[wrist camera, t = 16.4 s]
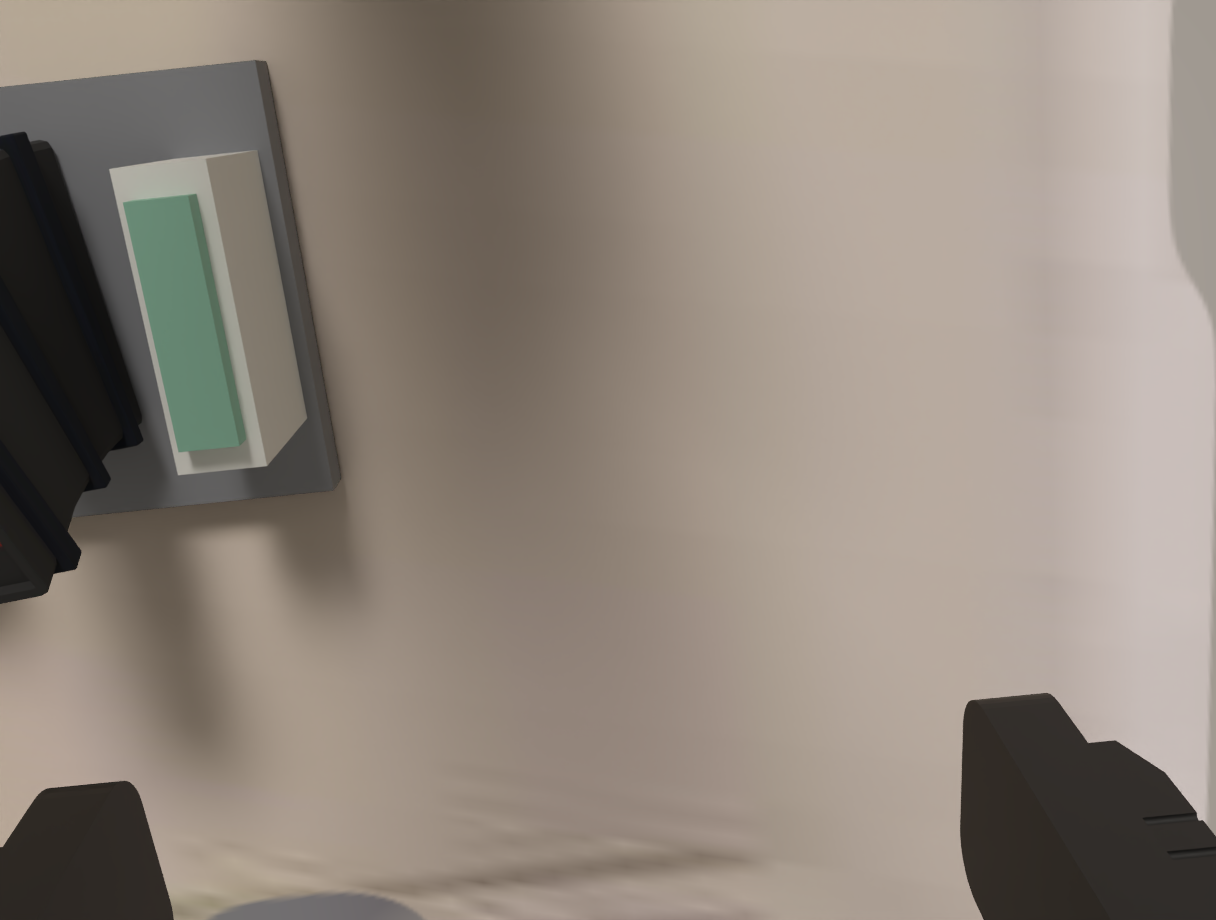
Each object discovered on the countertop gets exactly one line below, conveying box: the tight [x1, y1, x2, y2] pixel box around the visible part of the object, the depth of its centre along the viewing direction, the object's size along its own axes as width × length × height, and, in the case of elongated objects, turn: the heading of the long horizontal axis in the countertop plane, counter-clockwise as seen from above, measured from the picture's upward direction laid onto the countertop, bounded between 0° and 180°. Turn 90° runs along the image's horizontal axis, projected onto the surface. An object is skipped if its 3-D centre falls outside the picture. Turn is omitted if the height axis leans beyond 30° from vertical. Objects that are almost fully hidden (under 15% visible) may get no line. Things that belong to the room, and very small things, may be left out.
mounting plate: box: [0, 60, 341, 517], centre depth 40 cm, size 16×17×8 cm
